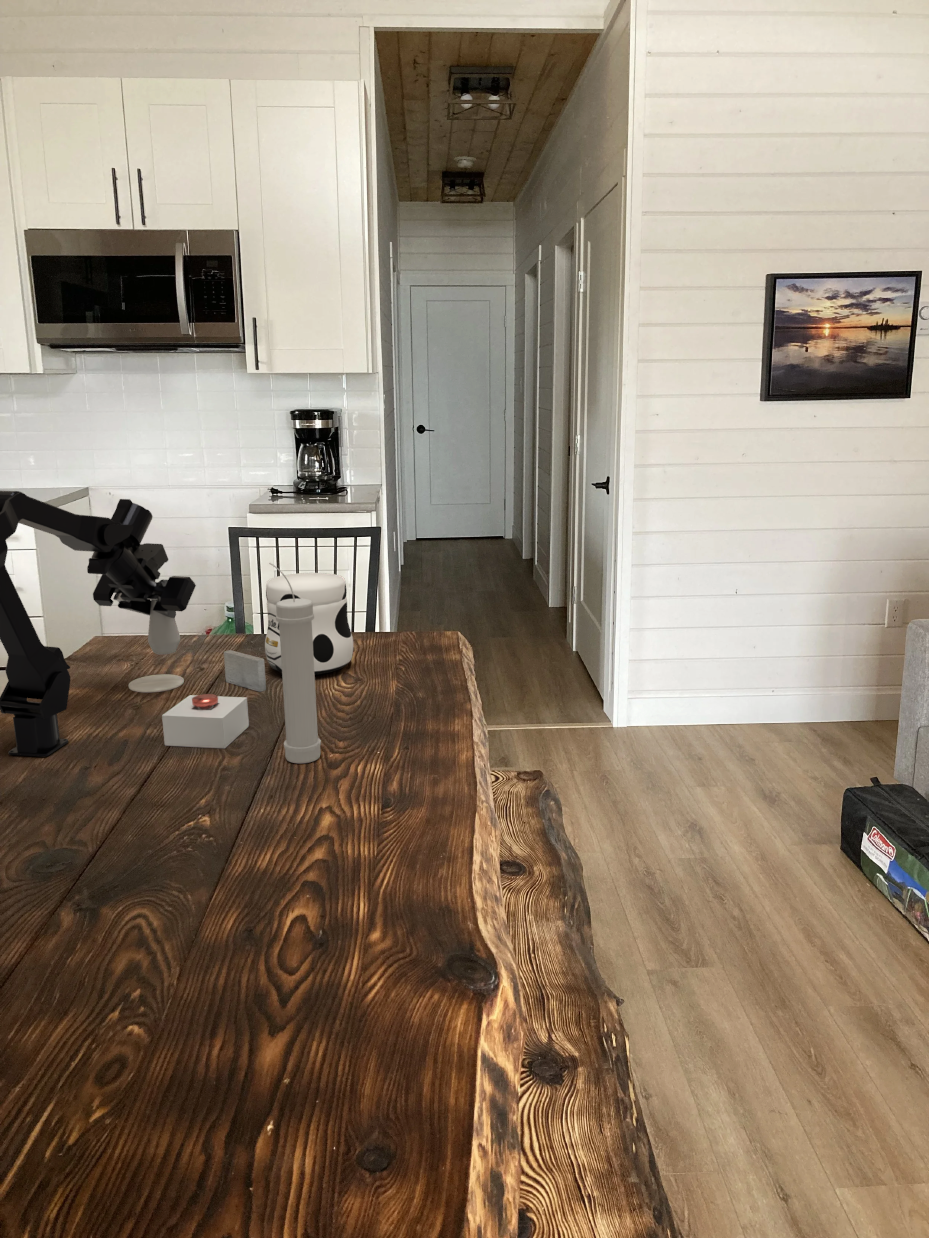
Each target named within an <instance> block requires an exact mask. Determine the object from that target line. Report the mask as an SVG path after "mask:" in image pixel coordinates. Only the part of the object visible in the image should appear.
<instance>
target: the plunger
mask: <svg viewBox="0 0 929 1238" xmlns="http://www.w3.org/2000/svg"><path fill="white" fill-rule="evenodd" d="M217 703H218V695H216V694H213V693H204V694H199V695H198V696H195V697H193V698H192V705H193V706H196V707H198V710H212V709H213V705H215V704H217Z"/></svg>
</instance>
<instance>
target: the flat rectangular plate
mask: <svg viewBox="0 0 929 1238" xmlns="http://www.w3.org/2000/svg"><path fill="white" fill-rule="evenodd" d="M223 658H224V659H223V660H224V674H225V683H229V684H232V685H234V686H235V685H236V686H238V687H242V688H245V689H249V690H253V691H256V692H264V691H266V690H267V683H266V681H267V680H266V667H265V659H264V658H261V657H258V656H254V655H250V654H246V653H243V652H239V651H234V650H231V649H229V650H226V651H223Z"/></svg>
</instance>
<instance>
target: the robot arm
mask: <svg viewBox="0 0 929 1238" xmlns="http://www.w3.org/2000/svg"><path fill="white" fill-rule="evenodd" d="M153 518H154V516H153V514H152V512H151V511H150V510H149V509H146V508H145V507H144V506H142V505H139V504H138V503H135V502H133V501H132V500H131V498H120V499H119V500H118V502H117V505H116V508H115V510H114V512H113V514H112V516H111V518H110V517H106V516H105V517H104V516H98V515H97V516H96V515H84V514H76V513H73V512H70V511H68V510H65V509H62V508H60V507H58V506H55V505H52V504H49V503H47V502H44V501H42V500H39V499H37V498H33V497H31V496H28V495H27V494H26V493H24V492H22V491H19V490H0V642H1V644H2V645H3V646H2V647H3V648H4V650H5V651H6V654H7V656H8V657H7V661H6V666H5V675H6V678H7V680H8V681H7V682H6V685H5V687H4V689H3V691H2V693H1V695H0V712H1V714H3V715H5V714H7V715H8V714H10V715H14V716H13V717H12V720H13V728H14V729H13V730H14V736H15V742H16V743H15V744H16V746H15V747H13V748H12V749H10V750H8V753H7V754H8V755H9V756H24V757H26V756H27V757H39V758H40V757H41V758H42V757H43V758H45V757H48V756H50V755H51V754H53V753H54V752H56V751H57V750H59V749H60V748H62V747H63V746H65V745H67V744H68V743H69V739H68V738H60V730H59V729H60V728H59V720H58V714H59V713H62V712H64V711H66V710H67V709H68V708H67V707H68V701H69V693H70V686H71V675H70V671H69V670H70V668H71V666H70V665H69V664H68V663H67V661H66V660H65V656H64V653H63V651H62V649H61V648H60V647H57V646H47V645H44V644H43V643H42V642H41V638H40V637H39V635H38V633H37V631H36V629H35V627H34V625H33V622H32V621H31V618H30V616H29V614H28V612H27V610H26V607H25V605H24V603H23V602H22V599H21V597H20V595H19V592H18V591H17V589H16V586H15V585H14V582H13V581H12V578H11V576H10V574H9V572H8V570H7V567H6V565H5V564H6V560H7V555H8V550H9V547H8V544H7V539H9V538H10V537H11V536H13V535H14V534H15V533H16V531H17V528H18V525H19V524H21V525H23V526H27V527H29V528H32V529H34V530H35V529H36V530H39V531H42V532H44V533H47V534H51V535H53V536H55V537H57V538H59V540H60V543H61V544H64V545H65V546H67V547H68V548H70V549H72V550H74V551H76V552H77V551H79V552H93V553H92V554H91V557H90V558H88V565H87V567H86V568H87V573H88V574H89V575H90V574H91V575H92V574H93V575H101V576H100V578H99V580H98V582H97V584H96V585H95V588H94V590H93V592H92V598H93V601H94V602H95V603H96V604H97V605H98V606H102V607H112V606H113V604H114V601H117V602H118V604H117V607H118V608H119V609H123V610H126V611H131V612H135V613H138V614H143V615H146V616H149V617H150V608H151V600H156V604H155V606H154V608H153V611H155V612H158V613H160V614H162V615H165V616H167V617H171V618H175V619H176V617H177V612H184V611H185V610H187V607H188V605H189V603H190V601H191V598H192V595H193V594H194V590H195V589H196V587H197V584H196V582H195V581H194V580H193V579H192V577H190V576H181V575H173V576H169V577H168V579H160V577H161V572H160V571H159V570H160V569H161V568H162V567H163V565H164V564H165V563H168V562H169V557H168V554H167V552H166V550H165V547H164V544H162V543H149V542H146V543H145V542H144V543H142V541H143V539H144V537H145V535H146V533H147V531H148V528H149V527H150V524H151V522H152V520H153ZM159 579H160V580H159ZM156 580H159V581H158V582H157V581H156ZM28 699H34V700H40V702H38V701H30V700H28Z"/></svg>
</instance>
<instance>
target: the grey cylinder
mask: <svg viewBox="0 0 929 1238" xmlns="http://www.w3.org/2000/svg"><path fill="white" fill-rule="evenodd" d="M269 565H271V566H273V568H275V569H276V570H277V571H278V572H280V573H281V576H284V577H285V579H286V580H287V582H288V584H289V586H290V589H291V592H292V595H293V599H286V600H282V601H279V602H278V603H277V604H276V612H277V616H276V621H277V622H279V630H280V646H281V662H282V673H281V675H282V676H281V677H282V678H281V679H282V690H283V692H282V694H283V708H284V711H283V712H284V725H285V740H284V742H283V747H284V752H285V753H284V755H285V756H284V757H285V760H287V762H290V763H294V764H308V763H311V762H312V763H313V762H315V761H317V760H318V759H320V756H321V744H322V740H321V738H319V735H318V716H317V715H318V714H317V697H316V677H315V674H314V655H313V636H312V620H313V619H314V614H313V603H312V601H310V600H307V599H294V594H293V590H292V587H291V585H290V583H289V581H288V579H287V578H286V576H285V575H286V574H284V573H283V571H281V569H280V568H278V567H277V566H276V565H274V564H273V563H272V562H269Z"/></svg>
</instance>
